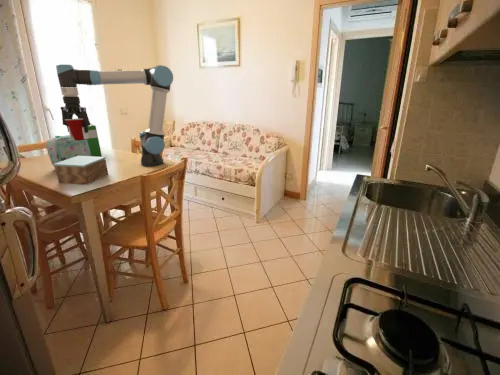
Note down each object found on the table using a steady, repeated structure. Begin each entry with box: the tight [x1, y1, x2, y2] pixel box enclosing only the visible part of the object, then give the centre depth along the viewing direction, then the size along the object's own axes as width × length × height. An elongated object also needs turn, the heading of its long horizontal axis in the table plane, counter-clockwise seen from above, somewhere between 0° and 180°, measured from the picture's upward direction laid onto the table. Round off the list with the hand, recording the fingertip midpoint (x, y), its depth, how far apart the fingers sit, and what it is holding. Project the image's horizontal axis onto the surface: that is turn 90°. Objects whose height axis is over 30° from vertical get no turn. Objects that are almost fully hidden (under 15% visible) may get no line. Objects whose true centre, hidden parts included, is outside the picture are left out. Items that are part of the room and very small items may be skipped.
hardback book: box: [87, 123, 103, 157], centre depth 204 cm, size 18×7×24 cm, turn 43°
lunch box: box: [45, 134, 91, 166], centre depth 177 cm, size 27×10×21 cm, turn 168°
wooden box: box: [53, 159, 109, 186], centre depth 152 cm, size 18×18×10 cm
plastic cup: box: [64, 118, 86, 140], centre depth 146 cm, size 11×11×12 cm
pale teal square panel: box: [52, 156, 107, 167], centre depth 150 cm, size 19×18×1 cm
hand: (79, 138), depth 147 cm, fingers closed on plastic cup, 8 cm apart
